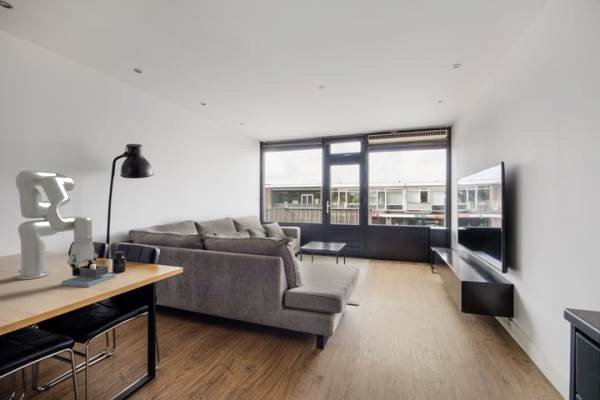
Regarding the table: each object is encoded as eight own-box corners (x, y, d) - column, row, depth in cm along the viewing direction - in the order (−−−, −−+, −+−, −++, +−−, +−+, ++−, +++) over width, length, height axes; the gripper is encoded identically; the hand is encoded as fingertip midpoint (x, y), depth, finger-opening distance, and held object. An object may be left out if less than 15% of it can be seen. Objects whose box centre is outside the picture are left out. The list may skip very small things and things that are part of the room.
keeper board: (61, 285, 135) (61, 267, 135) (90, 275, 151) (90, 260, 151) (88, 286, 133) (88, 269, 133) (115, 277, 149) (115, 261, 149)
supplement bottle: (118, 273, 156) (118, 253, 155) (109, 273, 157) (109, 253, 157) (128, 270, 162) (128, 251, 162) (119, 269, 164) (119, 250, 164)
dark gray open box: (72, 276, 139) (72, 268, 139) (86, 272, 147) (86, 265, 147) (95, 277, 137) (95, 269, 137) (108, 273, 145) (108, 266, 145)
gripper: (92, 237, 152) (92, 268, 152) (60, 242, 134) (60, 277, 135) (103, 238, 150) (103, 268, 151) (73, 243, 133) (73, 278, 133)
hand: (83, 272), depth 143 cm, fingers closed on dark gray open box, 7 cm apart
